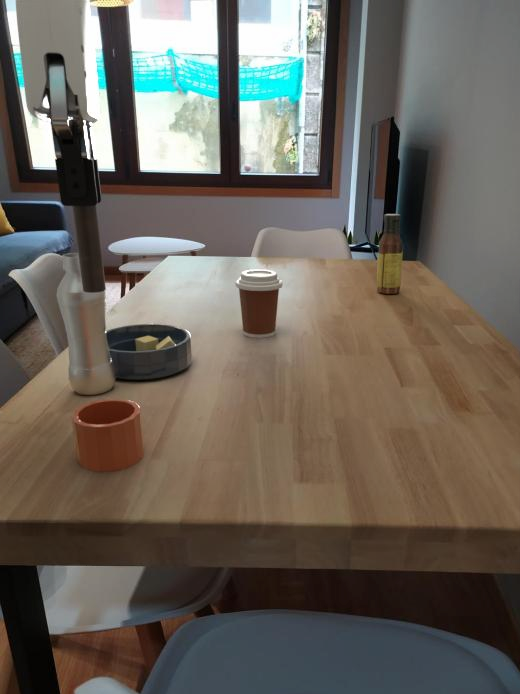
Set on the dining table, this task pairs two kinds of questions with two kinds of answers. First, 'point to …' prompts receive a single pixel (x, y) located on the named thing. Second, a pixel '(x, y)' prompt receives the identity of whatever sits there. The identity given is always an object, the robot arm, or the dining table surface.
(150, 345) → the chunk
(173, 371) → the bowl
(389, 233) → the sauce bottle
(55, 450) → the dining table surface
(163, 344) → the chunk
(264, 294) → the coffee cup
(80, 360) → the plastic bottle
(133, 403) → the holder
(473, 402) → the dining table surface
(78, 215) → the stick
